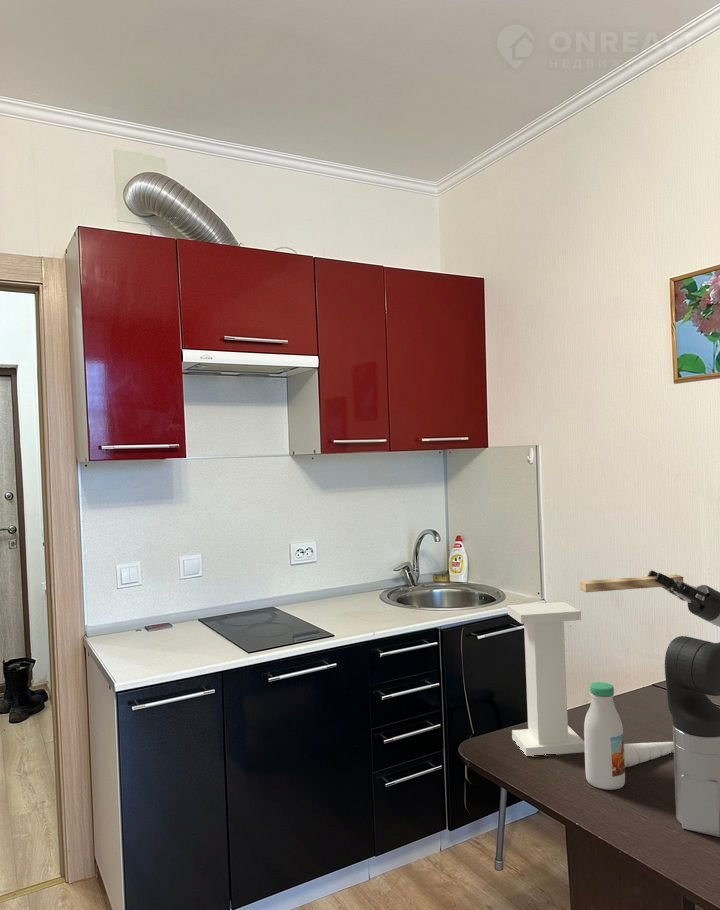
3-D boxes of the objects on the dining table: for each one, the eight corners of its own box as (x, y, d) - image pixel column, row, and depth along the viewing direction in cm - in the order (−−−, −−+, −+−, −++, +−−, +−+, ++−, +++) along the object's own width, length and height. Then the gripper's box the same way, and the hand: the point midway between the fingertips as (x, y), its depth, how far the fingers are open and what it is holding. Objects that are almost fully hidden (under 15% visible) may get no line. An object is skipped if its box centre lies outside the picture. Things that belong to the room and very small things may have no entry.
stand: (568, 734, 166) (563, 601, 165) (586, 752, 156) (580, 611, 156) (512, 738, 164) (507, 605, 164) (526, 756, 154) (520, 615, 154)
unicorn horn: (706, 751, 154) (705, 730, 154) (621, 773, 146) (620, 751, 145) (689, 743, 158) (688, 722, 158) (605, 764, 150) (605, 742, 150)
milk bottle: (600, 793, 137) (596, 693, 137) (578, 776, 144) (574, 681, 144) (633, 787, 139) (629, 688, 139) (610, 770, 146) (606, 677, 146)
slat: (676, 582, 165) (676, 574, 165) (683, 585, 162) (683, 576, 162) (580, 589, 162) (580, 581, 162) (585, 592, 159) (585, 583, 159)
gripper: (703, 587, 171) (644, 556, 170) (740, 599, 157) (676, 565, 156) (690, 614, 171) (631, 583, 169) (726, 628, 157) (662, 595, 155)
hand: (653, 575), depth 162 cm, fingers closed on slat, 3 cm apart
